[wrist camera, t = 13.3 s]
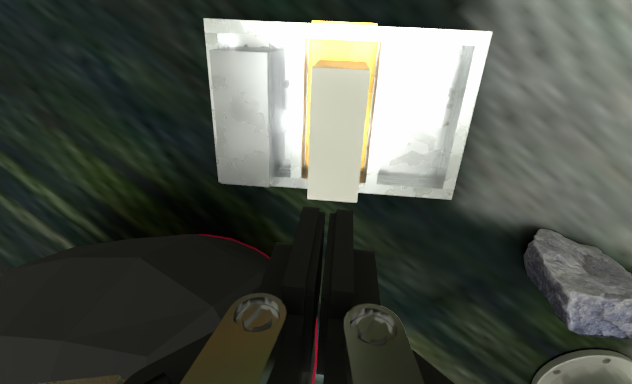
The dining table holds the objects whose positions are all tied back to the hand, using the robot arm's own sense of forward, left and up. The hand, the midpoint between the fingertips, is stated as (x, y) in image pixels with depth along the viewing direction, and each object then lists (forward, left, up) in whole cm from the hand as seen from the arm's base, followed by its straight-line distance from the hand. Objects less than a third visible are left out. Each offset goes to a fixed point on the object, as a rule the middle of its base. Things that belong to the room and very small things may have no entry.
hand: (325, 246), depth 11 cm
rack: (0, 0, -22) cm, 22 cm away
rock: (-13, -24, -22) cm, 35 cm away
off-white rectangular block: (-1, 0, -21) cm, 21 cm away
